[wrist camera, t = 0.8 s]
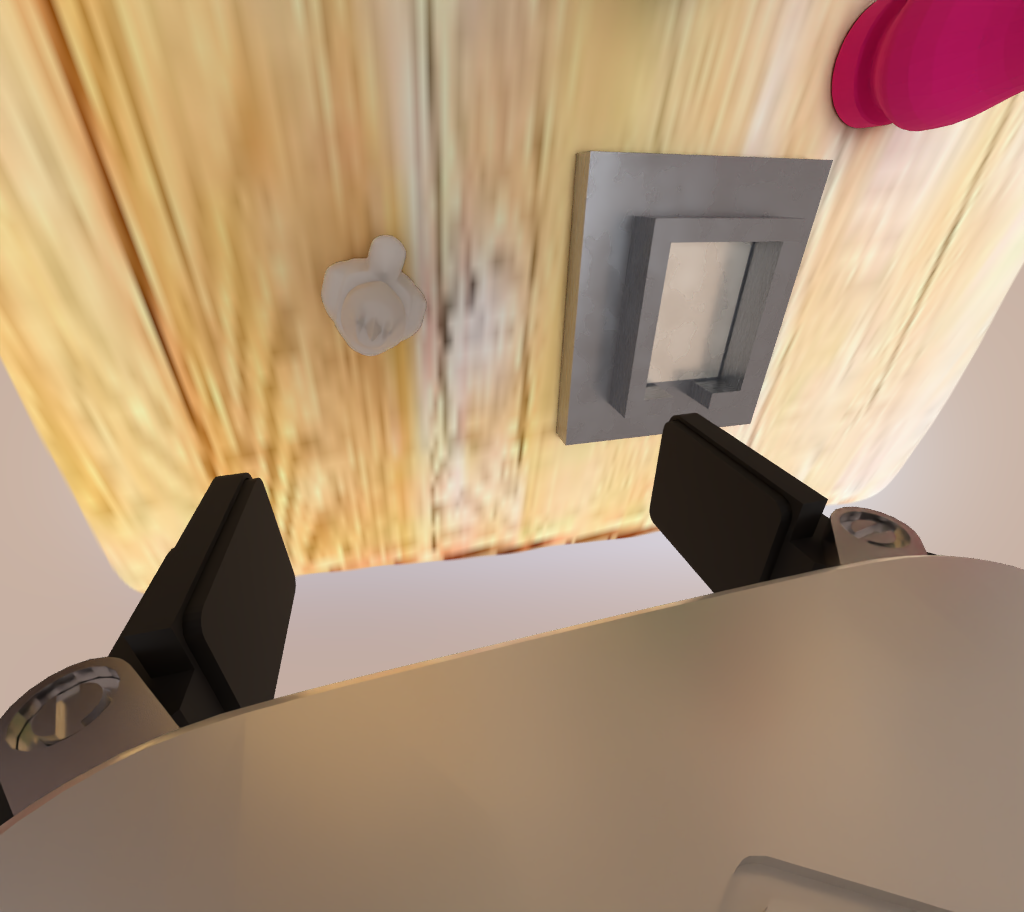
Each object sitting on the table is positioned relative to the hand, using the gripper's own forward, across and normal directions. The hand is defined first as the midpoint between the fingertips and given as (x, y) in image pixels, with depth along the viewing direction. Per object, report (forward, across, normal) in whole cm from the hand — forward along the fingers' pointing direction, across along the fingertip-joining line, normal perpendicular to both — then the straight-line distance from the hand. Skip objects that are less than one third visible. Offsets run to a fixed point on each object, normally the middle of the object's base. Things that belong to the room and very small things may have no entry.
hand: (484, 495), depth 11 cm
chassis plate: (+20, -18, +1) cm, 27 cm away
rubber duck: (+21, +2, -2) cm, 21 cm away
